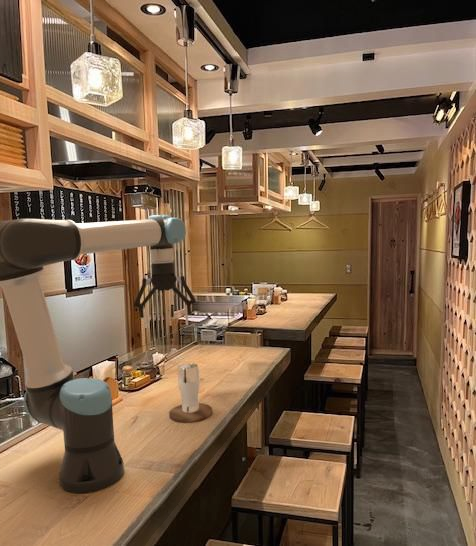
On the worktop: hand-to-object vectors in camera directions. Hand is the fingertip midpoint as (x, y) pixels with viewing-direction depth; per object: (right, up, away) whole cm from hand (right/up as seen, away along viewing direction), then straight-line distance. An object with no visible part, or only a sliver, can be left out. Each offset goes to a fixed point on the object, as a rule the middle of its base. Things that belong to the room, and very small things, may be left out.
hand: (166, 326), depth 148 cm
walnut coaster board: (+8, -29, -1) cm, 30 cm away
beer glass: (+8, -28, -1) cm, 29 cm away
